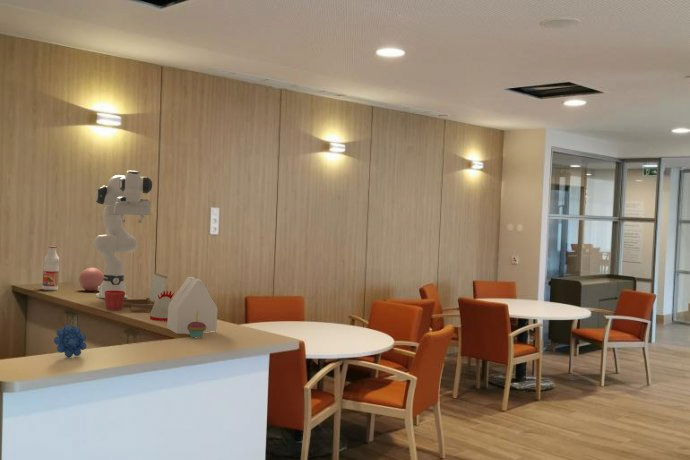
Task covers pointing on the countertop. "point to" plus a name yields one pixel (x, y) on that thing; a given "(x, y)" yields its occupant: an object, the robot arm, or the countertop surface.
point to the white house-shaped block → (192, 307)
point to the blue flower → (70, 341)
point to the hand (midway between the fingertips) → (131, 222)
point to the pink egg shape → (91, 279)
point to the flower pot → (114, 299)
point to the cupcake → (196, 328)
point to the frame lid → (157, 286)
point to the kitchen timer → (161, 307)
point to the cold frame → (139, 304)
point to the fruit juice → (51, 270)
